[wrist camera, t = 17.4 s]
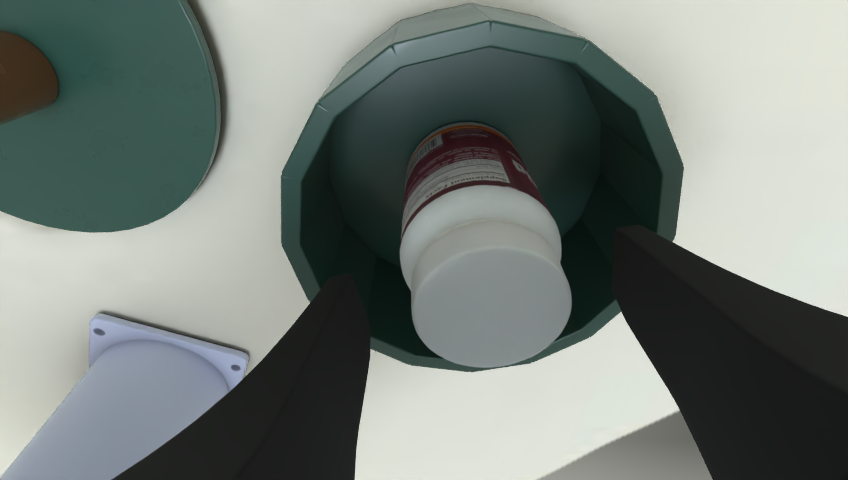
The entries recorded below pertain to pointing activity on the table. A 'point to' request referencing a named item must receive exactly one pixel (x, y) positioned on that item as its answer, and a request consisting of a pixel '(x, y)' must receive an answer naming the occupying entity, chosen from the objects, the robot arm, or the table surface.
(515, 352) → the pill bottle
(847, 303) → the table surface
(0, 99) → the pan lid
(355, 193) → the pan
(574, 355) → the table surface
